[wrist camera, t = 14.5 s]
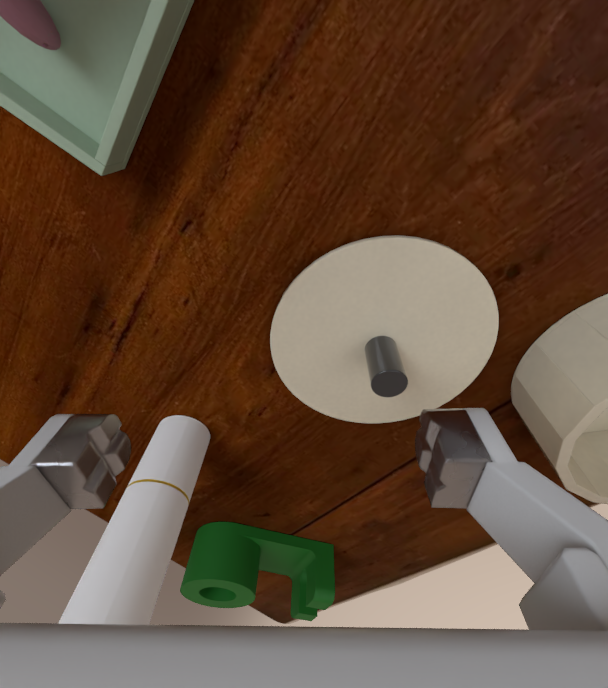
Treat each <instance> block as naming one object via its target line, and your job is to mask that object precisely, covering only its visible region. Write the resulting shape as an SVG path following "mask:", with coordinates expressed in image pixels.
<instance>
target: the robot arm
mask: <svg viewBox="0 0 608 688" xmlns="http://www.w3.org/2000/svg"><path fill="white" fill-rule="evenodd" d="M419 421H420V424H421V428H420V429H419V430H418V431H417V432H416V438H415V451H416V457H417V461H418V464H419V467H420V468H421V469H422V470H423V471H424V472H425V473H426V477H425V481H424V484H425V488H426V491H427V494H428V497H429V500H430V504H431V507H435V508H467V511H468V512H469V513H470V514H471V515H472V516H473V517H474V519H475V520H476V521H477V522H478V523H479V524H480V525H481V526H482V527H483V528H484V529H485V530H486V531H487V533H488V534H489V535H490V536H491V537H492V538H493V539H494V540H495V541H496V542H497V543H498V544H499V545H500V547H502V549H503V550H504V551H505V552H506V553H507V554H508V555H509V556H510V557H511V558H512V559H513V560H514V561H515V563H516V564H517V565H518V566H519V567H520V568H521V569H522V570H523V571H524V572H525V573H526V574H527V576H528V577H529V578H530V579H531V580H532V581H533V582H534V583H535V584H534V585H533V586H532V587H531V589H530V590H529V591H528V592H527V593H526V594H525V596H524V597H523V598H522V600H521V602H520V604H519V606H520V609H521V611H522V613H523V616H524V618H525V621H526V623H527V626H528V628H529V630H510V629H507V630H506V629H432V628H429V629H428V628H354V627H350V628H349V627H279V626H278V627H276V626H275V627H274V626H200V625H198V626H197V625H196V626H195V625H125V624H47V623H39V624H38V623H0V688H608V520H607V519H605V518H604V517H602V516H601V515H599V514H598V513H597V512H595V511H594V510H592V509H591V508H589V507H588V506H587V505H585V504H584V503H582V502H581V501H579V500H578V499H577V498H575V497H574V496H572V495H571V494H569V493H568V492H567V491H565V490H564V489H562V488H561V487H559V486H558V485H557V484H555V483H554V482H552V481H551V480H549V479H548V478H547V477H545V476H544V475H542V474H541V473H539V472H538V471H537V470H535V469H534V468H532V467H531V466H529V465H528V464H527V463H525V462H518V461H517V460H516V458H515V456H514V455H513V453H512V451H511V450H510V448H509V446H508V445H507V443H506V441H505V440H504V438H503V436H502V435H501V433H500V431H499V430H498V428H497V426H496V425H495V423H494V421H493V420H492V418H491V416H490V415H489V413H488V411H487V410H485V409H484V408H463V409H461V408H455V409H423V410H422V412H421V414H420V418H419ZM120 426H121V422H120V420H119V419H118V417H117V415H112V414H57V415H55V416H53V417H51V418H50V419H49V420H48V421H47V422H46V423H45V425H44V426H43V427H42V428H41V429H40V430H39V431H38V433H37V434H36V435H35V436H34V437H33V438H32V439H31V441H30V442H29V443H28V444H27V445H26V446H25V447H24V449H23V450H22V451H21V452H20V453H19V454H18V455H17V457H16V458H15V459H14V460H13V461H12V462H11V464H10V465H9V466H2V467H1V468H0V576H1V575H2V574H3V573H4V572H5V571H6V570H7V569H8V568H10V566H12V565H13V564H14V563H15V562H16V561H17V560H18V559H19V558H20V557H22V556H23V555H24V554H25V553H26V552H27V551H28V550H29V549H30V548H31V547H32V546H33V545H35V544H36V543H37V542H38V541H39V540H40V539H41V538H42V537H44V535H46V534H47V533H48V532H49V531H50V530H51V529H52V528H53V527H54V526H56V525H57V524H58V523H59V522H60V521H61V520H62V519H63V518H64V517H65V516H67V515H68V514H69V513H70V512H71V509H92V508H104V507H105V505H106V503H107V501H108V499H109V497H110V495H111V494H112V492H113V490H114V488H115V486H116V480H115V476H116V475H118V474H119V473H120V472H122V471H123V470H124V469H125V467H126V465H127V463H128V461H129V459H130V453H131V443H130V439H129V437H128V435H127V434H125V433H124V432H122V431H121V430H119V428H120ZM5 600H6V599H5V593H3V592H2V591H0V608H1V607H2V605H3V603H4V602H5Z"/></svg>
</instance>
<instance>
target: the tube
mask: <svg viewBox="0 0 608 688" xmlns="http://www.w3.org/2000/svg"><path fill="white" fill-rule="evenodd" d="M209 441H210V433H209V430H208V429H207V427H206V426H205V425H204V424H202V423H201V422H200V421H198V420H196V419H194V418H191V417H187V416H181V415H174V416H169V417H166V418H164V419H163V420H162V421H161V422H160V423H159V425H158V427H157V429H156V431H155V433H154V435H153V437H152V439H151V441H150V443H149V445H148V447H147V449H146V451H145V453H144V455H143V457H142V459H141V461H140V463H139V465H138V467H137V469H136V470H135V472H134V474H133V476H132V478H131V480H130V482H129V484H128V486H127V489H126V490H125V492H124V494H123V496H122V498H121V500H120V502H119V504H118V506H117V508H116V510H115V512H114V514H113V516H112V518H111V520H110V522H109V524H108V526H107V528H106V530H105V532H104V534H103V536H102V538H101V540H100V542H99V544H98V546H97V548H96V550H95V551H94V554H93V555H92V557H91V559H90V561H89V563H88V565H87V568H86V569H85V571H84V573H83V575H82V577H81V579H80V581H79V583H78V585H77V587H76V589H75V591H74V593H73V595H72V597H71V599H70V601H69V603H68V605H67V607H66V609H65V611H64V613H63V615H62V617H61V619H60V621H59V623H58V624H125V625H149V623H150V620H151V617H152V614H153V611H154V608H155V605H156V602H157V599H158V596H159V593H160V590H161V587H162V584H163V581H164V578H165V575H166V572H167V568H168V565H169V562H170V560H171V557H172V554H173V550H174V547H175V544H176V541H177V538H178V535H179V532H180V529H181V526H182V523H183V520H184V517H185V514H186V511H187V508H188V505H189V502H190V499H191V496H192V493H193V489H194V486H195V483H196V480H197V477H198V474H199V471H200V468H201V465H202V462H203V459H204V456H205V453H206V450H207V447H208V444H209Z"/></svg>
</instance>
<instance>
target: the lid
mask: <svg viewBox="0 0 608 688" xmlns="http://www.w3.org/2000/svg"><path fill="white" fill-rule="evenodd" d="M498 328H499V314H498V308H497V302H496V299H495V296H494V293H493V291H492V288H491V287H490V285H489V283H488V282H487V280H486V278H485V277H484V276H483V274H482V273H481V272H480V271H479V270H478V269H477V267H476V266H475V265H474V264H473V263H471V262H470V261H469V260H468V259H467V258H465V257H464V256H463V255H462V254H460V253H458V252H456V251H455V250H453V249H451V248H450V247H448V246H445V245H442V244H440V243H437V242H435V241H432V240H427V239H423V238H419V237H411V236H400V235H396V236H379V237H373V238H367V239H362V240H359V241H355V242H352V243H349V244H346V245H343V246H341V247H339V248H337V249H334V250H332V251H330V252H328V253H327V254H325V255H323V256H322V257H320V258H318V259H317V260H315V261H314V262H313V263H312V264H310V265H309V266H308V267H306V268H305V269H304V270H303V271H302V272H301V273H300V274H299V275H298V276H297V277H296V278H295V279H294V280H293V281H292V283H291V284H290V285H289V287H288V288H287V289H286V291H285V292H284V294H283V296H282V298H281V300H280V301H279V303H278V305H277V308H276V311H275V314H274V317H273V321H272V326H271V332H270V348H271V355H272V359H273V362H274V365H275V368H276V370H277V372H278V374H279V376H280V378H281V379H282V381H283V382H284V384H285V385H286V387H287V388H288V389H289V390H290V391H291V392H292V393H293V394H294V395H295V396H296V397H297V398H298V399H299V400H300V401H302V402H303V403H305V404H306V405H308V406H309V407H311V408H312V409H314V410H316V411H318V412H320V413H322V414H325V415H328V416H330V417H333V418H337V419H340V420H344V421H350V422H357V423H387V422H395V421H400V420H405V419H409V418H413V417H416V416H419V415H420V414H421V412H422V410H423V409H436V408H438V407H440V406H442V405H443V404H445V403H447V402H448V401H450V400H452V399H453V398H454V397H456V396H457V395H458V394H460V393H461V392H462V391H463V390H464V389H465V388H467V387H468V386H469V385H470V384H471V383H472V382H473V381H474V379H475V378H476V377H477V376H478V375H479V374H480V372H481V371H482V369H483V368H484V366H485V365H486V363H487V361H488V359H489V358H490V356H491V354H492V351H493V348H494V345H495V343H496V339H497V333H498Z"/></svg>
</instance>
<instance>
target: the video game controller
mask: <svg viewBox="0 0 608 688" xmlns="http://www.w3.org/2000/svg"><path fill="white" fill-rule="evenodd" d="M0 16H1V17H2V18H3V19H4V20H5V21H6V22H7V23H8V24H10V25H11V26H12V27H13V28H14V29H16V30H17V31H18V32H19V33H20V34H21V35H23V36H24V37H26V38H27V39H29V40H31V41H32V42H34V43H35V44H37V45H39V46H41V47H43V48H46V49H49V50H57V49H59V48H60V46H61V40H60V34H59V32H58V31H57V28H56V26H55V24H54V22H53V20H52V18H51V16H50V15H49V13H48V12H47V10H46V8H45V7H44V5H43V4H42V2H41V0H0Z"/></svg>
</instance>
